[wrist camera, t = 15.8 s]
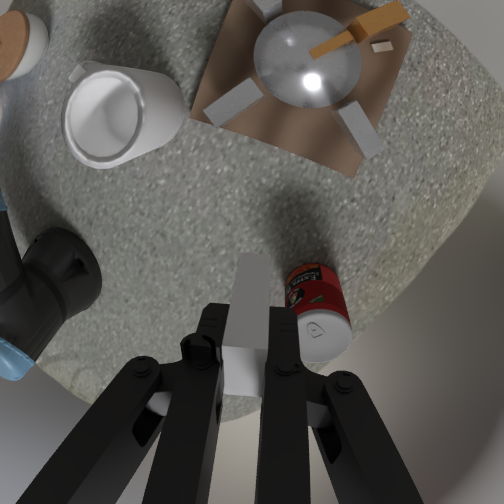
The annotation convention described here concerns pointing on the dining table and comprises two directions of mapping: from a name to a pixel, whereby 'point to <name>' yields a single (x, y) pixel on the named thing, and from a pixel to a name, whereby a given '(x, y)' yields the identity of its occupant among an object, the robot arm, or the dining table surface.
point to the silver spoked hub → (311, 66)
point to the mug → (119, 113)
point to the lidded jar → (21, 43)
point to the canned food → (318, 312)
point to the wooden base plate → (288, 116)
